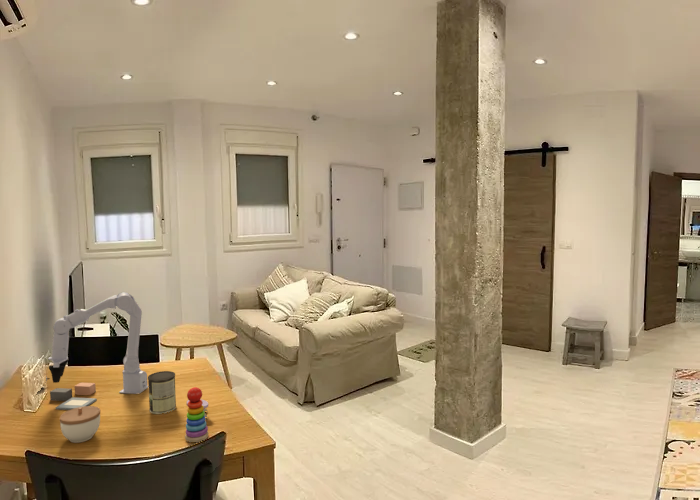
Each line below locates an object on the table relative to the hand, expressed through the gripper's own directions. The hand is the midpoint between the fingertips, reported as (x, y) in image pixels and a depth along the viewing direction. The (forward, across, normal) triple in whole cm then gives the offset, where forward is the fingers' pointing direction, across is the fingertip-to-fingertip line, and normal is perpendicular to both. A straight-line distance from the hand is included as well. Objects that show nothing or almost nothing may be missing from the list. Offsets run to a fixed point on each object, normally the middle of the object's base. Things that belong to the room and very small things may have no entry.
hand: (57, 379), depth 198 cm
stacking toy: (+5, +54, +52) cm, 75 cm away
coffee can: (+6, +24, +41) cm, 48 cm away
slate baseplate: (+9, +6, +8) cm, 14 cm away
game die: (+11, -22, -10) cm, 26 cm away
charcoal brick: (+10, -4, +2) cm, 11 cm away
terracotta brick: (+9, -7, +10) cm, 15 cm away
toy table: (+5, +36, +54) cm, 65 cm away
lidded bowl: (+9, +38, +14) cm, 42 cm away
